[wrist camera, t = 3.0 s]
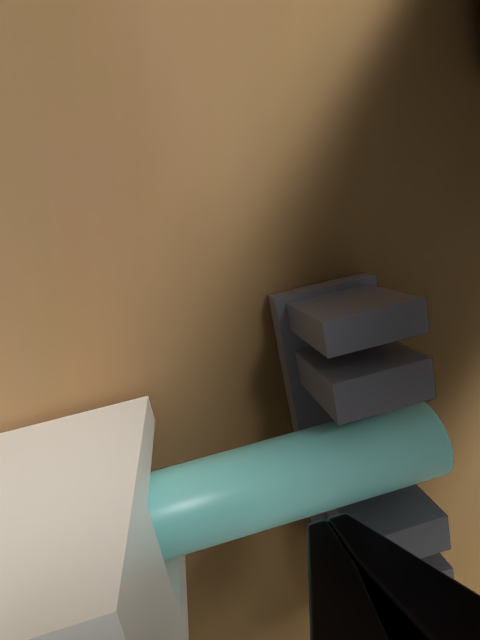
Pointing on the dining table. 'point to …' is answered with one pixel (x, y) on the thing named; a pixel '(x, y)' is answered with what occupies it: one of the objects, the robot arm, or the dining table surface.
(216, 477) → the teal cylindrical rod
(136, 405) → the sleeve
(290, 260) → the dining table surface
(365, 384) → the grey ridged block
